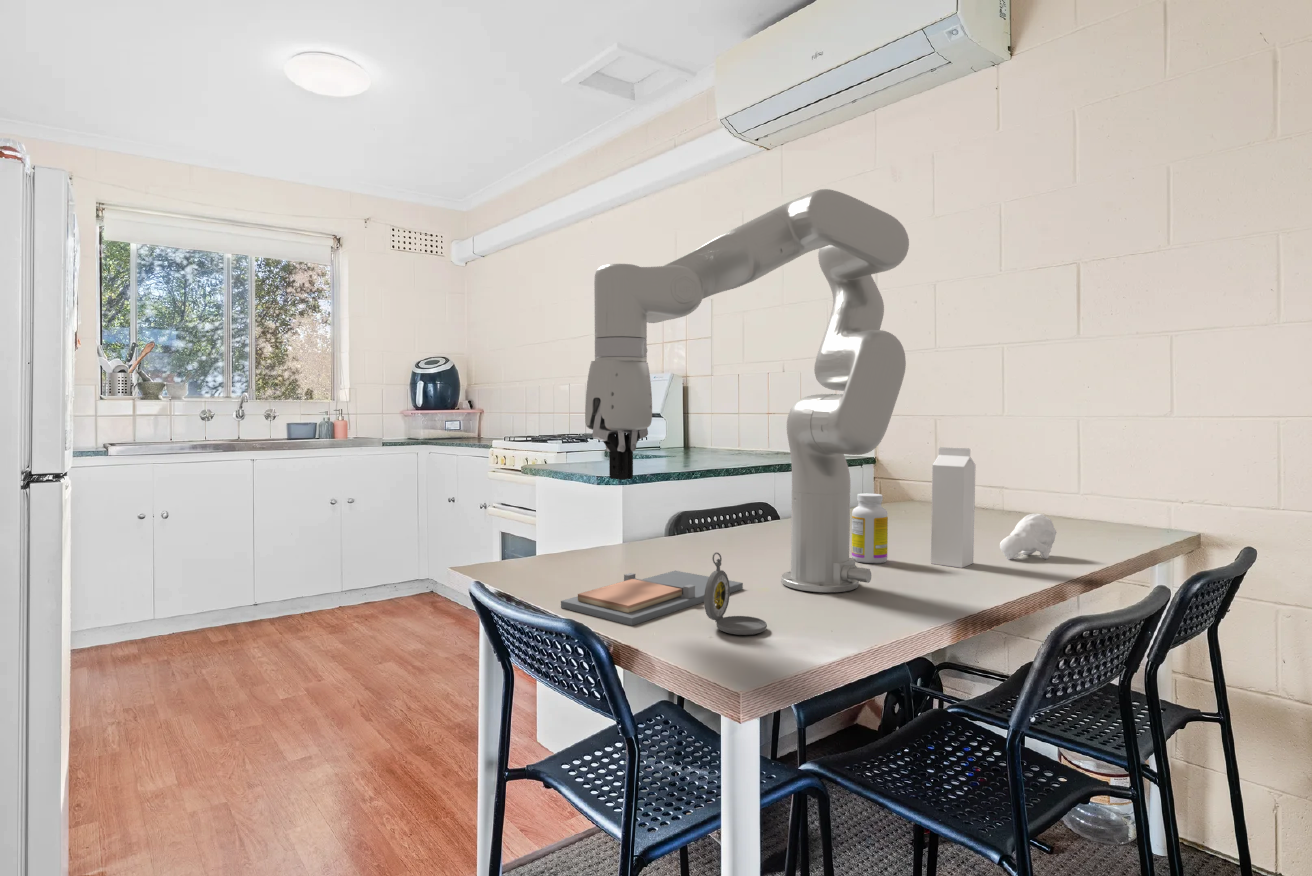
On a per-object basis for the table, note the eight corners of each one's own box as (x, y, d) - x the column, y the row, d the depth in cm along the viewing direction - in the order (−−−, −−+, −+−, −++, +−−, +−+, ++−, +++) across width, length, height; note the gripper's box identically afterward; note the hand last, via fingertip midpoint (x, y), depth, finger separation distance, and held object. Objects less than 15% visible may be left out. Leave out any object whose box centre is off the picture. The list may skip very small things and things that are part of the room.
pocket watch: (771, 637, 97) (772, 560, 96) (707, 638, 96) (707, 560, 96) (758, 619, 105) (758, 548, 104) (698, 620, 104) (698, 548, 104)
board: (742, 589, 122) (742, 572, 122) (631, 625, 101) (631, 605, 101) (675, 576, 131) (675, 560, 131) (560, 607, 110) (560, 589, 110)
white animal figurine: (1059, 514, 148) (1016, 523, 143) (1060, 556, 148) (1018, 567, 143) (1031, 510, 153) (988, 519, 148) (1032, 551, 154) (990, 561, 149)
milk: (962, 568, 139) (964, 449, 138) (929, 563, 143) (932, 447, 142) (973, 563, 143) (976, 447, 142) (942, 558, 147) (944, 446, 146)
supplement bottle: (888, 558, 147) (889, 493, 146) (886, 565, 141) (887, 497, 140) (853, 556, 149) (854, 491, 149) (849, 562, 143) (850, 495, 143)
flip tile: (628, 605, 104) (628, 612, 104) (685, 587, 114) (685, 594, 114) (577, 593, 110) (577, 600, 110) (636, 577, 120) (636, 583, 120)
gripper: (635, 355, 117) (635, 473, 118) (564, 350, 105) (565, 481, 106) (673, 353, 112) (673, 476, 113) (603, 347, 100) (604, 484, 101)
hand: (621, 478), depth 109 cm, fingers closed
